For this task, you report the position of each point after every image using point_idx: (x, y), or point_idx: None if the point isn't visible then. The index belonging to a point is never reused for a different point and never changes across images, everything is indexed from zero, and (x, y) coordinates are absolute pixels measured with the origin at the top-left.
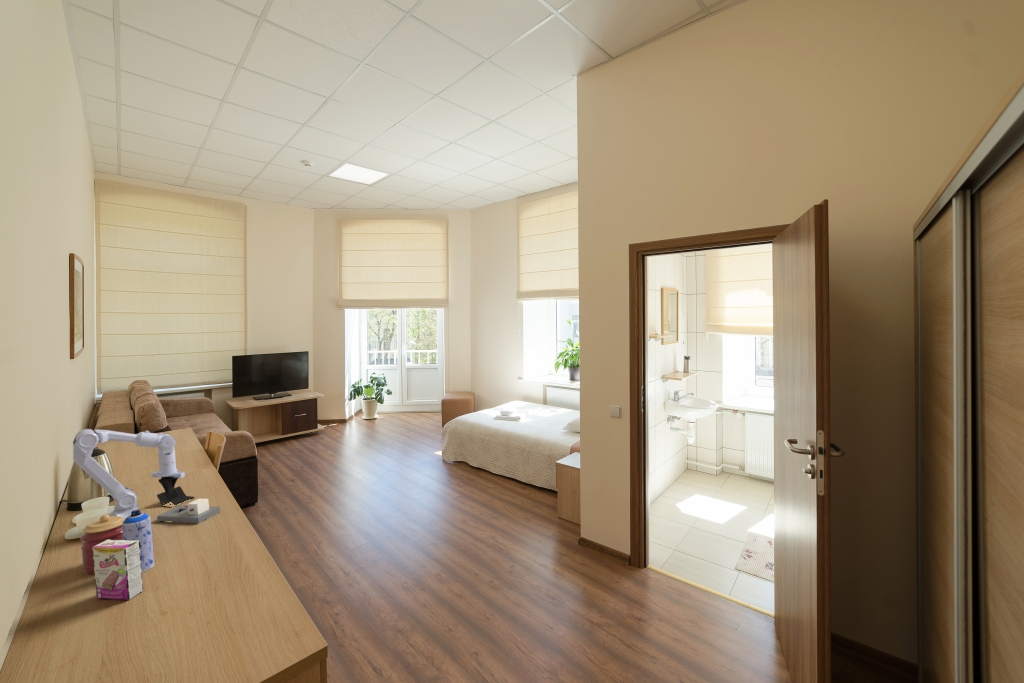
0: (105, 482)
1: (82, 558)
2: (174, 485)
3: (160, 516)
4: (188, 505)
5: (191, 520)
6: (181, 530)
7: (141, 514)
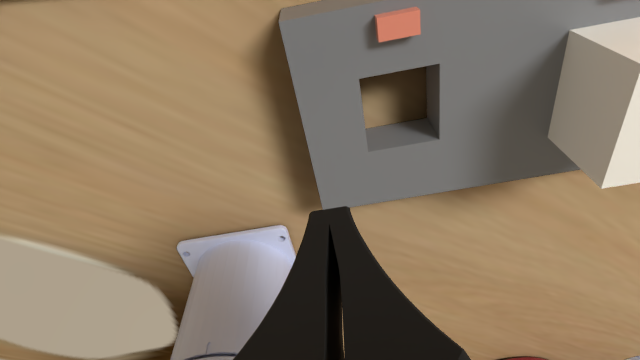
0: None
1: None
2: (378, 266)
3: (350, 204)
4: (599, 177)
5: None
6: (585, 210)
7: None
